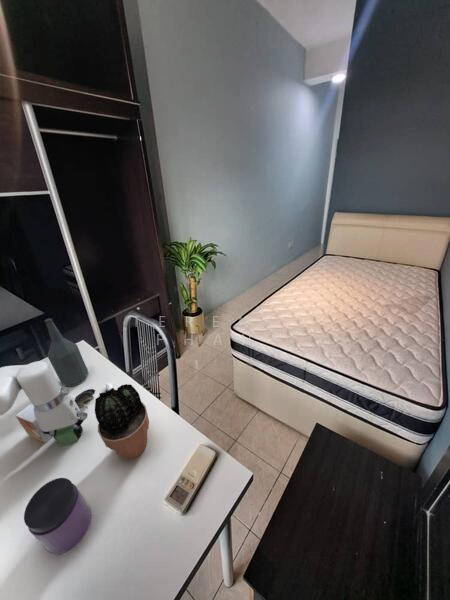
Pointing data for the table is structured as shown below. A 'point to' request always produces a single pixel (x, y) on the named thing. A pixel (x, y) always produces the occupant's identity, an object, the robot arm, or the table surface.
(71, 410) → the robot arm
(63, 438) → the block
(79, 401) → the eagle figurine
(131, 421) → the potted plant
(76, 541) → the jar
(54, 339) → the bottle
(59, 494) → the jar lid
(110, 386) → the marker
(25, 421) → the small box
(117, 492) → the table surface
